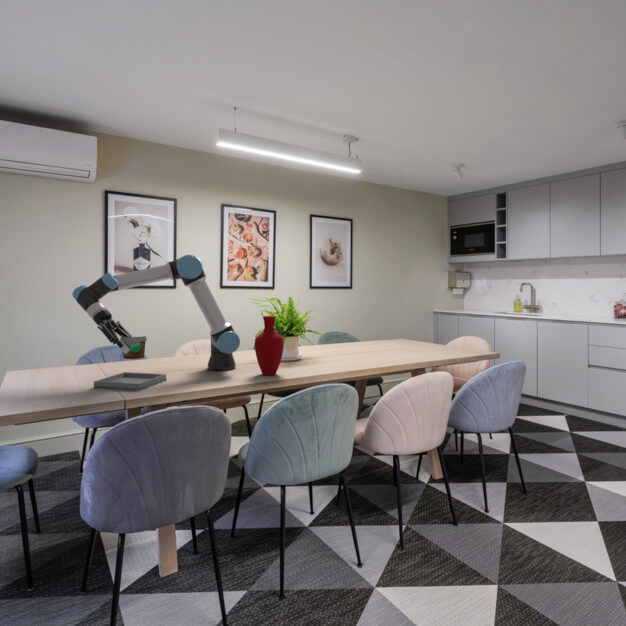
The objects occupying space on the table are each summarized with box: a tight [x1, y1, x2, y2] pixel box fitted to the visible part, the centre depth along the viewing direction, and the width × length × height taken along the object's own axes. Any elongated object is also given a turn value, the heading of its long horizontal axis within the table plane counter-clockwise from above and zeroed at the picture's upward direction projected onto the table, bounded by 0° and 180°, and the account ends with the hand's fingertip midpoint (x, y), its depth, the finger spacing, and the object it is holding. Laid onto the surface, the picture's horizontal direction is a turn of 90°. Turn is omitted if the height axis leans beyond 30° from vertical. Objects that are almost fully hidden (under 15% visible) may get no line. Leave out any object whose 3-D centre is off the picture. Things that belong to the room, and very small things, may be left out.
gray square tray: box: [93, 371, 167, 391], centre depth 201 cm, size 22×22×3 cm
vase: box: [254, 315, 285, 376], centre depth 227 cm, size 15×15×30 cm
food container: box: [119, 335, 148, 360], centre depth 200 cm, size 12×6×10 cm, turn 82°
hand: (132, 351), depth 200 cm, fingers closed on food container, 6 cm apart
